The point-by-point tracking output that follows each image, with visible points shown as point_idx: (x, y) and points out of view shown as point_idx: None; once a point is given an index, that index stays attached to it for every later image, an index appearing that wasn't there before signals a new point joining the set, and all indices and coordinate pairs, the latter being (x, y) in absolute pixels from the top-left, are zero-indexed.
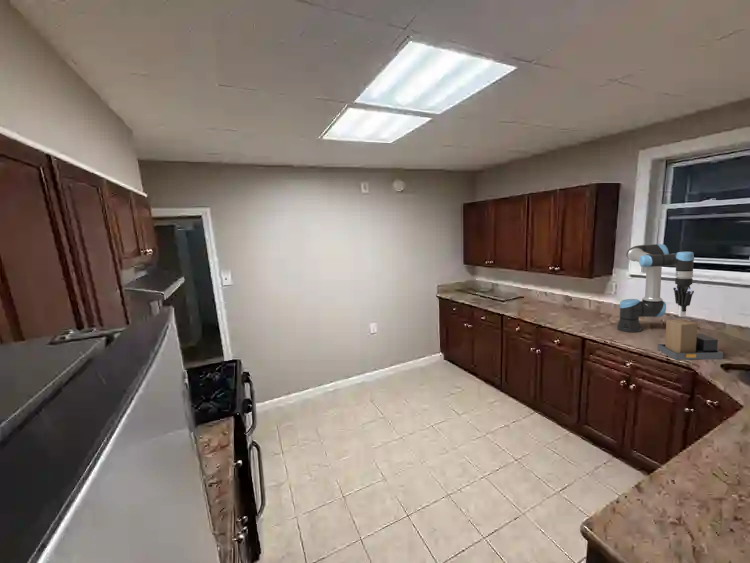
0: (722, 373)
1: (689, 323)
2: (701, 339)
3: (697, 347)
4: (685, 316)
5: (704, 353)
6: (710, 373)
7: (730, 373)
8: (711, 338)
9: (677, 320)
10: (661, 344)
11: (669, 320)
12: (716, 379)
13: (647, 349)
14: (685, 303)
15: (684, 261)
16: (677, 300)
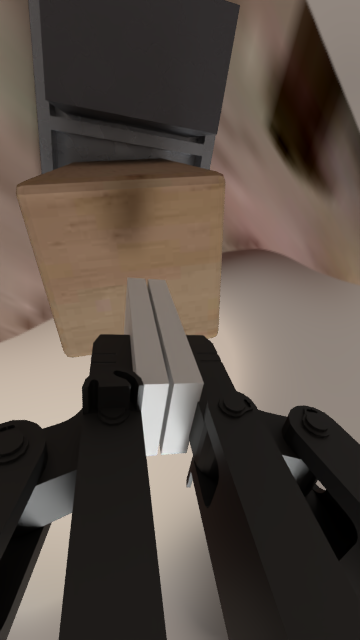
0: (329, 218)
1: (215, 262)
2: (192, 129)
3: (150, 127)
4: (165, 281)
5: (211, 150)
6: (313, 256)
7: (341, 189)
8: (197, 22)
9: (90, 285)
10: None
11: (79, 344)
12: (347, 276)
13: (44, 298)
14: (332, 525)
15: None
16: (19, 591)
